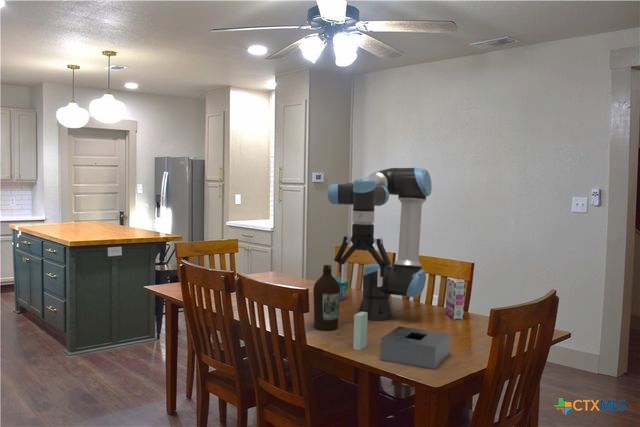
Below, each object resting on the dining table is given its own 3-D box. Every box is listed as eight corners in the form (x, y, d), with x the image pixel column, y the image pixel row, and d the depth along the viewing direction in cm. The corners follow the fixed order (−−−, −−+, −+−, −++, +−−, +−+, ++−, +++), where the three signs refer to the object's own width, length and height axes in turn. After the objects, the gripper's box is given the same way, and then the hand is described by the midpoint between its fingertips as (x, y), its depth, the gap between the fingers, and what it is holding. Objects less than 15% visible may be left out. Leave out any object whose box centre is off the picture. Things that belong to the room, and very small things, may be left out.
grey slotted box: (380, 359, 177) (380, 338, 177) (398, 345, 193) (399, 326, 193) (434, 369, 169) (435, 347, 168) (448, 353, 185) (449, 333, 184)
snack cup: (340, 295, 279) (341, 275, 278) (355, 298, 271) (356, 278, 271) (318, 299, 268) (319, 278, 267) (334, 303, 260) (334, 282, 260)
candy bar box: (464, 320, 232) (465, 282, 231) (453, 320, 232) (454, 282, 231) (455, 313, 243) (457, 277, 242) (444, 313, 243) (446, 277, 242)
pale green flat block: (353, 349, 188) (354, 314, 187) (360, 344, 193) (361, 311, 193) (360, 350, 187) (360, 315, 186) (366, 345, 192) (367, 312, 191)
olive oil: (308, 325, 218) (309, 263, 216) (332, 323, 222) (333, 262, 221) (319, 332, 208) (320, 267, 207) (344, 329, 213) (345, 266, 211)
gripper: (326, 222, 190) (324, 282, 191) (393, 225, 179) (391, 289, 180) (335, 221, 197) (333, 279, 198) (401, 224, 185) (399, 286, 186)
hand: (361, 284), depth 189 cm, fingers open, 13 cm apart
